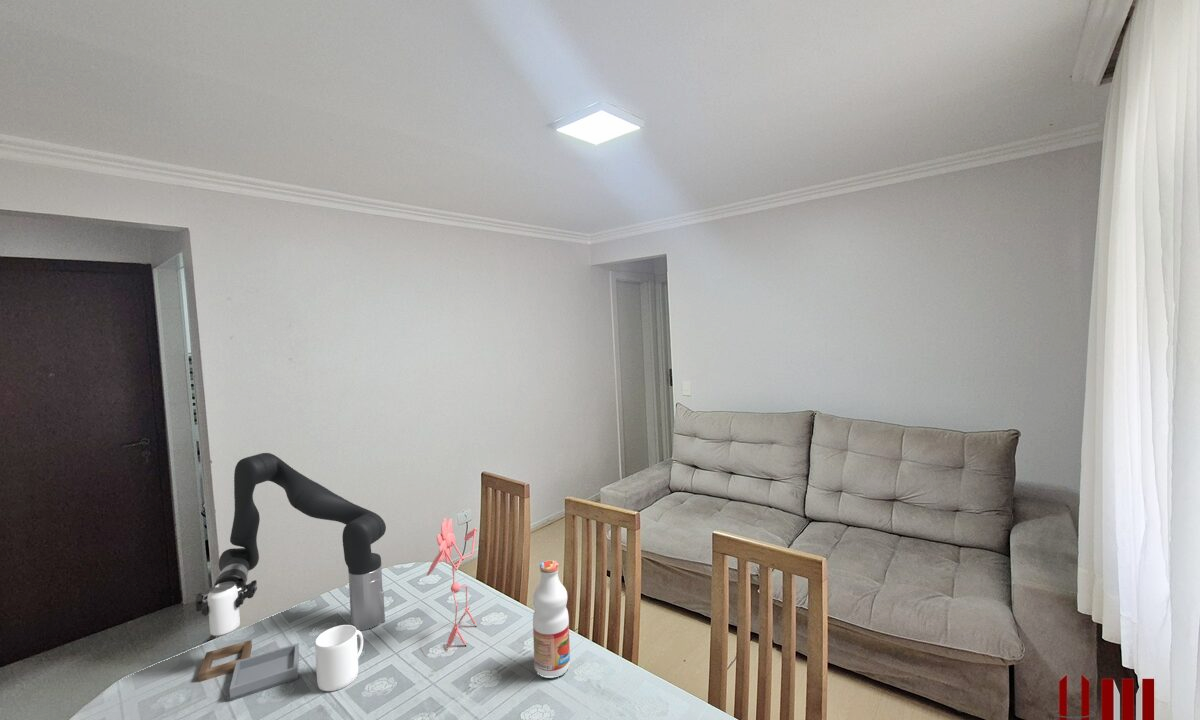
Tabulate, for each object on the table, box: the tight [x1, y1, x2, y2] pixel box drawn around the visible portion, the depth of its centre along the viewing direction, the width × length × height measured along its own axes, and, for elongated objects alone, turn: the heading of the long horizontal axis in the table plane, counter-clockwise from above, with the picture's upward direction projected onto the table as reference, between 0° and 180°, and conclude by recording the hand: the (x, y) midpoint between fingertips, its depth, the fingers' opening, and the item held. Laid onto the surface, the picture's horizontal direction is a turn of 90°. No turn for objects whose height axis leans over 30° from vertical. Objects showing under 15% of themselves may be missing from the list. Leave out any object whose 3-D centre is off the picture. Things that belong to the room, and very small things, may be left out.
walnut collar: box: [198, 639, 253, 683], centre depth 131 cm, size 10×10×2 cm
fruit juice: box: [532, 559, 571, 676], centre depth 126 cm, size 9×9×28 cm
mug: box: [314, 624, 364, 692], centre depth 125 cm, size 10×12×12 cm
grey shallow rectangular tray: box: [229, 642, 300, 702], centre depth 126 cm, size 14×12×3 cm
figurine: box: [426, 517, 478, 649], centre depth 140 cm, size 15×26×35 cm, turn 176°
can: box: [207, 582, 241, 637], centre depth 130 cm, size 6×6×12 cm
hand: (221, 608), depth 128 cm, fingers closed on can, 6 cm apart
